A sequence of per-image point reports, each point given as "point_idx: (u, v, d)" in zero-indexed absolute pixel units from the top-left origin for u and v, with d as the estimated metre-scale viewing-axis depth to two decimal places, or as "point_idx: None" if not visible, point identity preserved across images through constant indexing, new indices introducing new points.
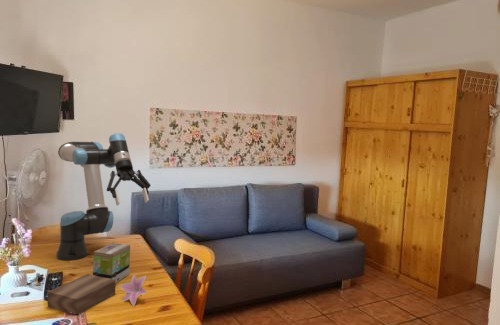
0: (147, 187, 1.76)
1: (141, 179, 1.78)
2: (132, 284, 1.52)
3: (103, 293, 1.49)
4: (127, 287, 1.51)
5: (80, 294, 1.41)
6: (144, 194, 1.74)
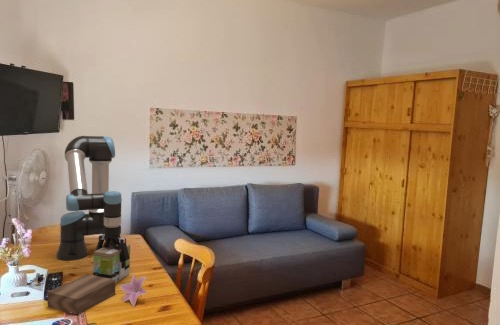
0: (123, 260, 1.67)
1: None
2: (132, 284, 1.52)
3: (103, 293, 1.49)
4: (127, 287, 1.51)
5: (80, 294, 1.41)
6: None
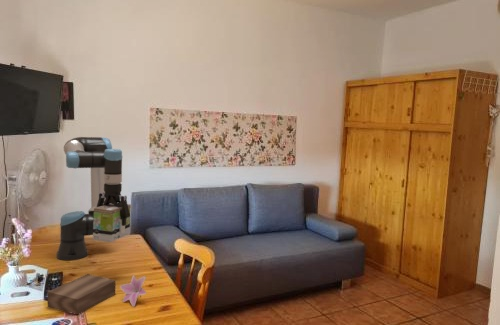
0: (124, 218, 1.66)
1: None
2: (132, 285, 1.51)
3: (103, 293, 1.49)
4: (127, 287, 1.51)
5: (80, 294, 1.41)
6: None
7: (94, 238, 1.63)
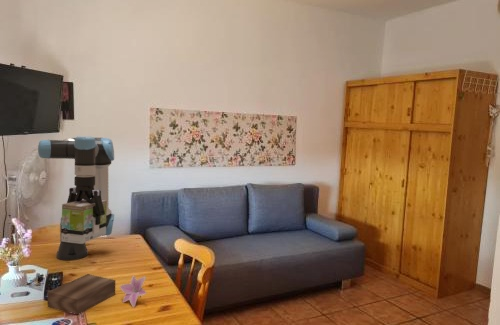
0: (97, 216, 1.44)
1: None
2: (132, 285, 1.51)
3: (103, 293, 1.49)
4: (127, 288, 1.50)
5: (80, 294, 1.41)
6: None
7: (62, 239, 1.41)
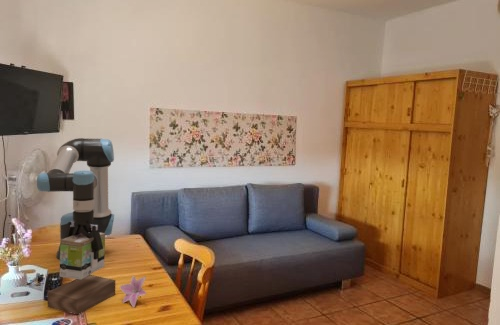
0: (96, 251, 1.44)
1: None
2: (132, 285, 1.51)
3: (103, 293, 1.49)
4: (127, 288, 1.50)
5: (80, 294, 1.41)
6: None
7: (61, 274, 1.41)
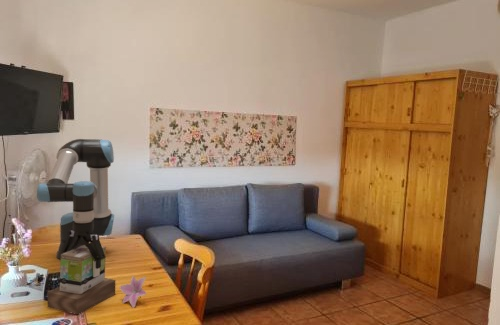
0: (98, 260, 1.44)
1: None
2: (131, 285, 1.51)
3: (103, 293, 1.49)
4: (127, 288, 1.50)
5: (80, 294, 1.41)
6: None
7: (61, 289, 1.42)
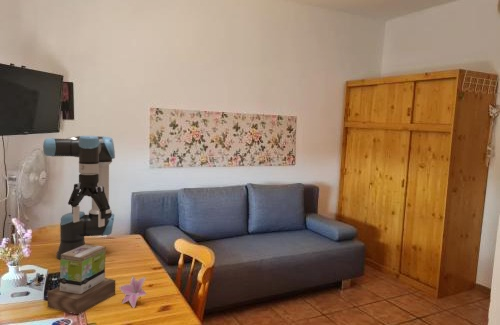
0: (103, 210, 1.49)
1: None
2: (131, 286, 1.50)
3: (103, 293, 1.49)
4: (126, 288, 1.50)
5: (80, 294, 1.41)
6: None
7: (61, 289, 1.42)
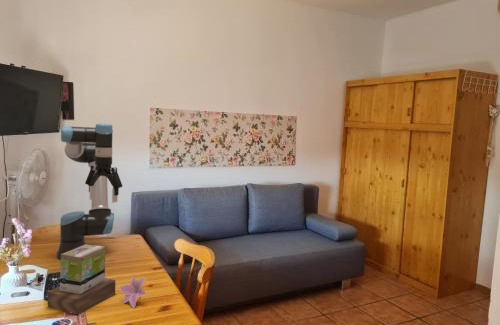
0: (116, 188, 1.72)
1: None
2: (131, 286, 1.50)
3: (103, 293, 1.49)
4: (126, 289, 1.49)
5: (80, 294, 1.41)
6: None
7: (61, 289, 1.42)
